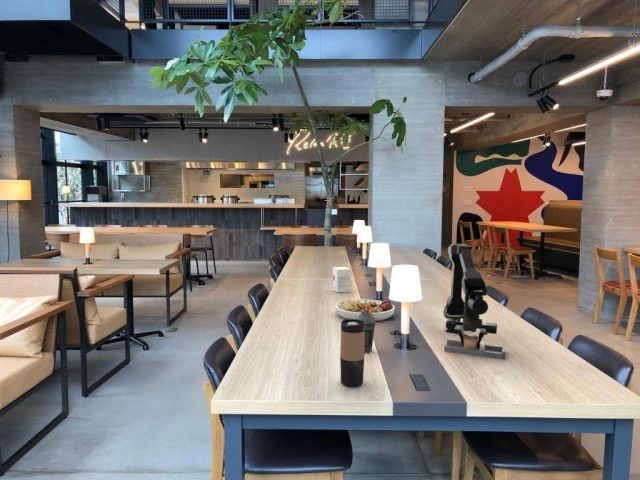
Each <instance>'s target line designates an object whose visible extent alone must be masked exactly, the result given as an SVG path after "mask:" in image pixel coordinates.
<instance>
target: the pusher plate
mask: <svg viewBox="0 0 640 480" xmlns="http://www.w3.org/2000/svg"><path fill="white" fill-rule="evenodd" d="M485 344H486V342H485V341H481V342H480V349H479V350H484V351H486V350H485Z"/></svg>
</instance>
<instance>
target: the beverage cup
mask: <svg viewBox="0 0 640 480" xmlns="http://www.w3.org/2000/svg"><path fill="white" fill-rule="evenodd" d="M358 320H361V321H364V323H365V328H364V354H368V353H369V354H370V353H372V351H373V345H374V344H373V343H374V335H375V327H376V322H377V321H375V317H374V315H373V314H372V313H371V312H368V311H367V309H366V300H365V312H362V313H361V314H360V315H359V317H358Z"/></svg>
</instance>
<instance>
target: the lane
mask: <svg viewBox="0 0 640 480" xmlns="http://www.w3.org/2000/svg"><path fill="white" fill-rule="evenodd" d="M480 344H481V343H480ZM480 344H479V347H478V348H477V350H476V349H469V348H464V346H462V343H461V340H455V339H446V344H445V345H444V346H443V347H444V348H443V350H444V352H447V353H453V354H461V355H469V356H477V357H482V358H483V357H484V358H490V359H498V360H506V350H507V348H506V347H507V344H505V343H502V345H497V344H496V345H495V344H486V343H485V351H484V350H480Z"/></svg>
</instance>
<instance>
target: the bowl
mask: <svg viewBox="0 0 640 480" xmlns="http://www.w3.org/2000/svg"><path fill="white" fill-rule="evenodd" d="M365 300H366V309H367V311H368V312H371V313H372V314H373V315H374V317H375V321H376V322H380V321H384V320H387V319H390V318H391V317H392V316H393V315H394V313H395V308H396V307H395V305H394V304H392V302H391V300H390V299H388V298H385V299H383V301H382V300H379V299H378V300H376V299H369V298H366V299H365V298H364V299H363V298H362V299H361V298H360V299H359V298H357V299H356V298H355V299H346V300H345V299H344V300H342V301H338V302H336V304H335V305H334V308H335V312H336V313H337V314H338V316H340V318H341V317H342V318H343V319H345V320H347V319H357V320H358V317H359V315H360V314H361V313H362V312H365Z"/></svg>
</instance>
